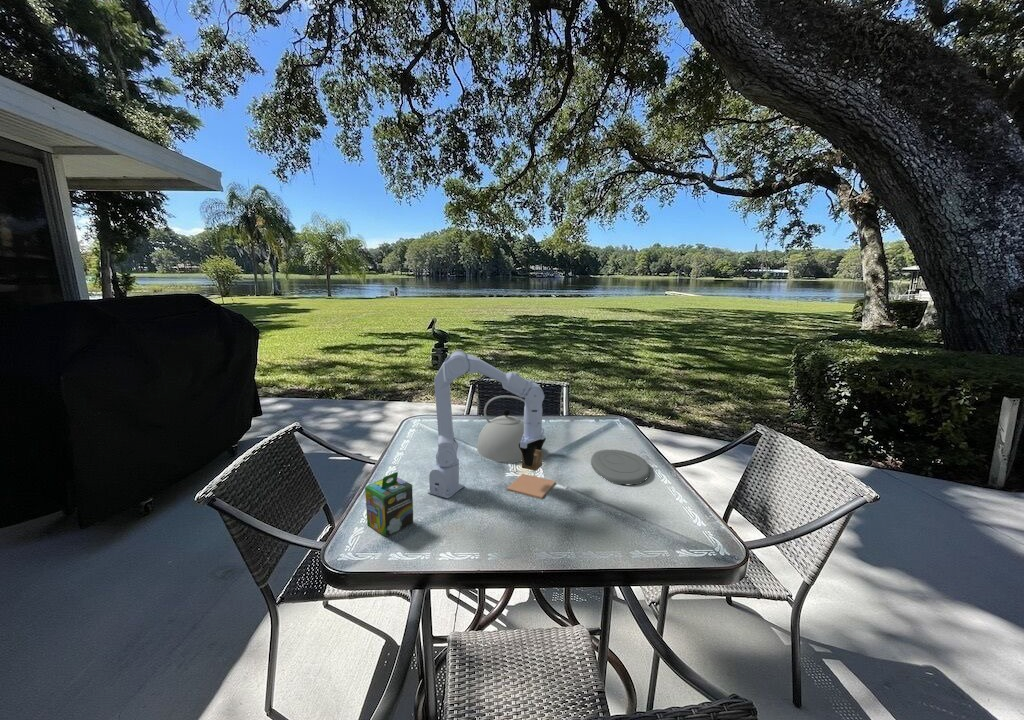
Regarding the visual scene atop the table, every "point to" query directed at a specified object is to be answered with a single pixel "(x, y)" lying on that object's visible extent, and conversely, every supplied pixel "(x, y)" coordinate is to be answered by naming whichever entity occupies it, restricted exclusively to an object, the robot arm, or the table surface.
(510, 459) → the kettle
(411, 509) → the chalk box
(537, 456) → the walnut block
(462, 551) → the table surface
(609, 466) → the frisbee
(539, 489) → the terracotta tile
